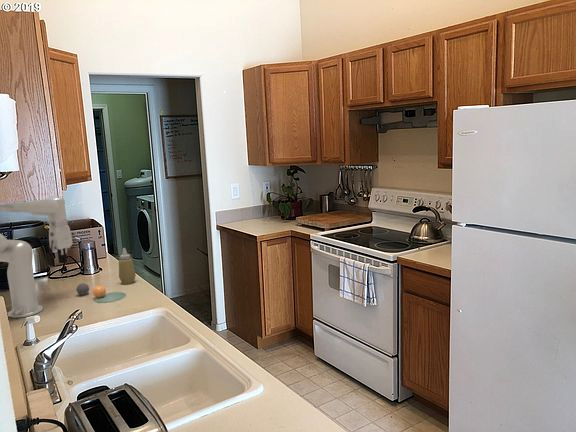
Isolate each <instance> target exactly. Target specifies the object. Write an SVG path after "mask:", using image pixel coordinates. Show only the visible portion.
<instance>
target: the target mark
mask: <svg viewBox="0 0 576 432" xmlns="http://www.w3.org/2000/svg"><path fill="white" fill-rule="evenodd" d="M126 296H127V293H125V292H122V291H121V292H120V291H116V292H115V291H114V292H107V293H105V295H104V296H103V297H101V298H97V297H95V296H94V298H93V302H95V303H98V304H107V303H115V302H117V301H121V300H123V299H124V298H125V297H126Z"/></svg>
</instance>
